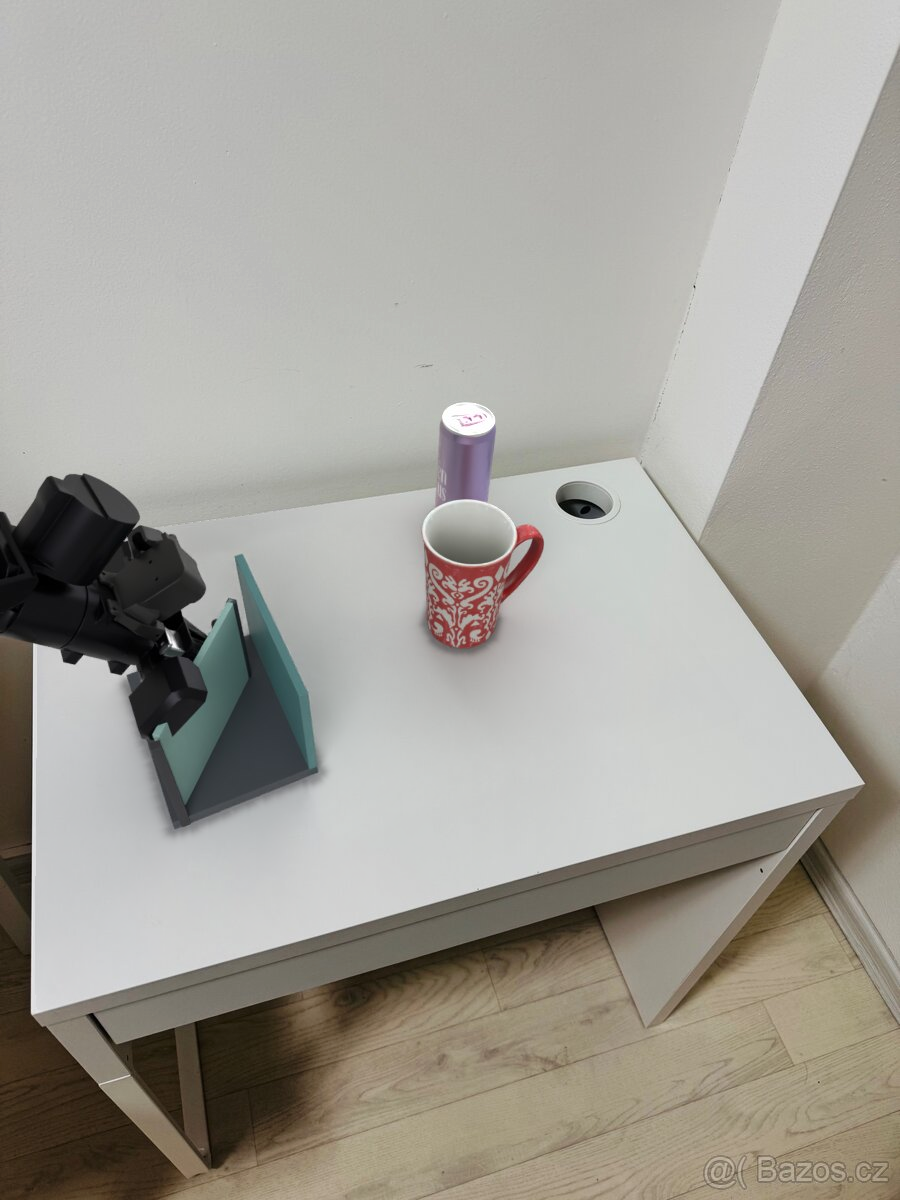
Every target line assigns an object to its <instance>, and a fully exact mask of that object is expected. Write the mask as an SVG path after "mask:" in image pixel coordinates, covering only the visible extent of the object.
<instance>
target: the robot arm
mask: <svg viewBox="0 0 900 1200" xmlns="http://www.w3.org/2000/svg"><path fill="white" fill-rule="evenodd" d="M140 520H141V515H140V512H139V510H138V508H137V507H136V505H134V504H133V502H132V501H131V500H130V499H129V498H128V497H126V496H125V495H124V493H122V492H121V491H119V490H118V489H117V488H116V487H113V486H112V485H110V484H109V483H107V482H106V481H103V480H102V479H100V478H98V477H96V476H93V475H90V474H87V473H84V472H83V473H82V474H78V473H69V474H67V475H65V476H64V478H63V479H62V478H60V477H59V478H58V477H57V476H53V475H49V476H46V477H45V479H44V480H43V481H42V483H41V485H39V488H38V490H37V492H36V495H35V497H34V499H33V501H32V503H31V504H30V506H28V509H27V510H26V511H25V513H24V514H23V516H22V517H21V519H20V521H18V523H17V524H16V525H13V524H12V523H11V521H10V519H9V517H8V515H7V513H6V511H5V512H4V511H1V510H0V637H5V638H9V639H13V640H17V641H22V642H26V643H29V644H34V645H39V646H43V647H46V648H51V649H56V650H59V652H60V654H61V659H62V663H63V664H64V663H65V664H69V665H73V666H76V665H77V664H78V663H79V661H80V660H81V659H82V658H83V656H85V657H88V658H94V659H98V660H102V661H105V662H106V663H107V665H108V670H109V673H110V674H115V675H116V676H117V675H118V676H123V675H124V674H125V672H126V671H127V670H128V669H129V668H130V666H135V667H136V672H137V671H138V674H139V677H140V681H141V683H140V684H139V686H138V687H137V688H136V689H135V690H134V691H133V692H131V693H130V694H129V695H128V701H129V703H130V706H131V707H130V708H131V710H132V713H133V714H132V715H133V716H134V720H135V723H136V727H137V730H138V733H139V736H140V738H141V739H142V740H146V739H147V740H153V741H155V740H154V738H153V735H152V734H153V732H154V731H155V729H156V727H157V726H158V725H161V724H164V723H168V726H169V729H170V732H171V735H172V737H173V736H174V735H175V734H176V733H177V732H178V731H179V730H180V729H181V728H182V726H183V725H184V724H185V723H186V722H187V721H188V720H189V719H190V718H191V717H192V716H193V715H194V714H195V713H196V711H197V710H198V709H199V708H200V707H201V706H202V705H203V704H204V703H205V702H206V698H207V694H208V690H207V688H206V685H205V682H204V680H203V677H202V675H201V672H200V669H199V667H198V666H196V665H195V664H194V663H193V661H194V660H195V658H196V656H197V654H198V653H199V651H200V649H201V647H202V646H203V644H204V642H205V640H206V638H207V637H208V635H209V634H206V633H205V632H204V631H202V630H201V629H199V628H198V627H197V626H195V624H193V623H192V622H191V621H190V620H188V619H187V618H186V617H185V616H184V615H183V611H182V610H183V609H185V608H186V607H187V606H189V605H191V604H195V603H197V602H199V601H200V600H201V599H203V597H204V596H205V594H206V592H207V585H206V582H205V581H204V579H203V577H202V575H201V573H200V570H199V568H198V563H197V561H196V559H194V558H193V557H192V556H191V555H190V554H189V553H188V552H187V551H185V550H184V549H183V548H182V547H181V545H180V542H179V539H178V537H177V535H176V534H174V533H169V534H168V533H167V532H166V531H164V532H162V531H161V530H160V529H157V528H153V527H150V526H145V525H142V524H139V525H138V526H137V524H138V523H139V521H140ZM147 740H146V741H147Z"/></svg>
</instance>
